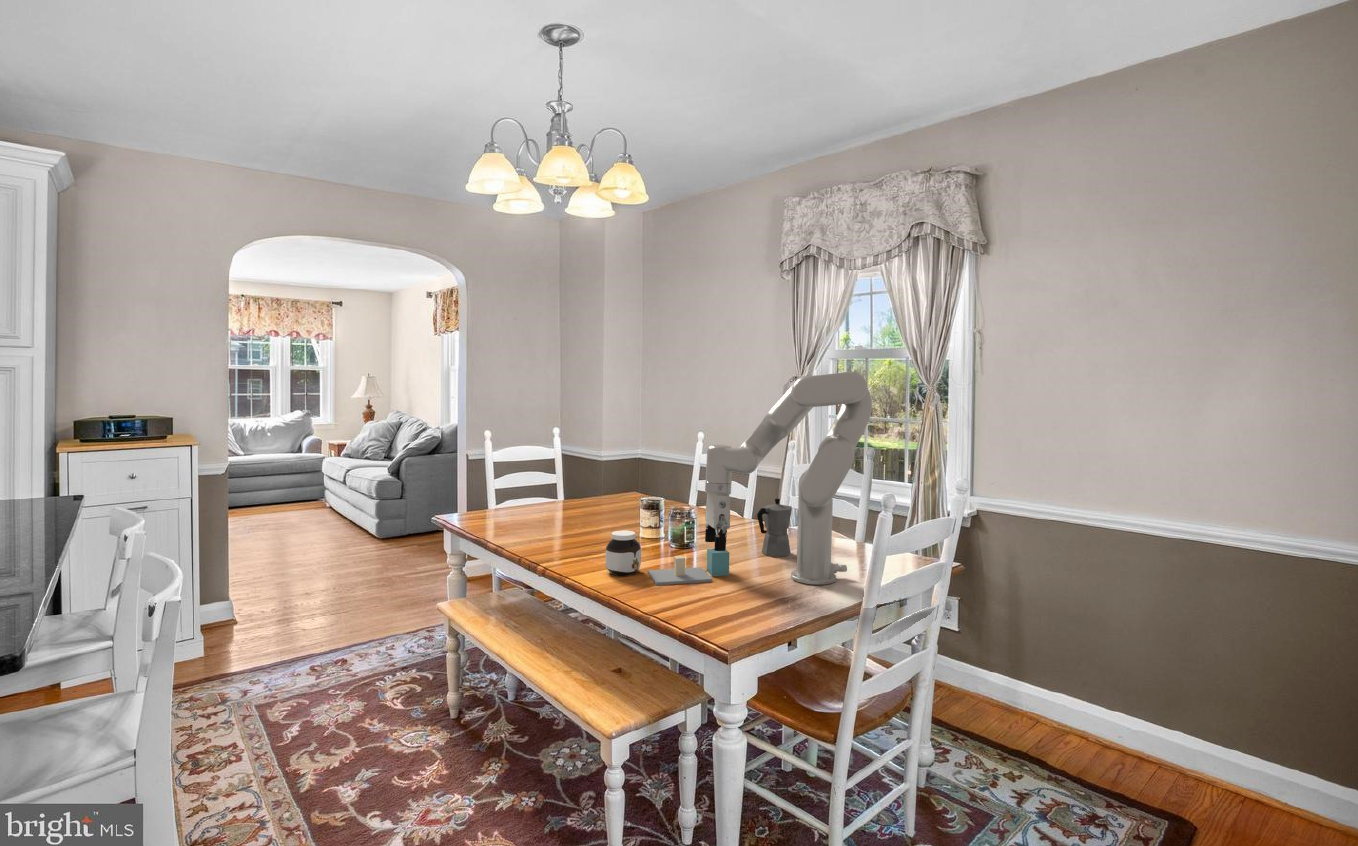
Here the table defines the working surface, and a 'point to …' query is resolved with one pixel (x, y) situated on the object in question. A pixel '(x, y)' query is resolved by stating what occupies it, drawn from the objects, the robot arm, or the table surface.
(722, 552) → the teal block
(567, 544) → the table surface
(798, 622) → the table surface
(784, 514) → the coffeepot
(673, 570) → the stand
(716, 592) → the table surface
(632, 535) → the spread jar
